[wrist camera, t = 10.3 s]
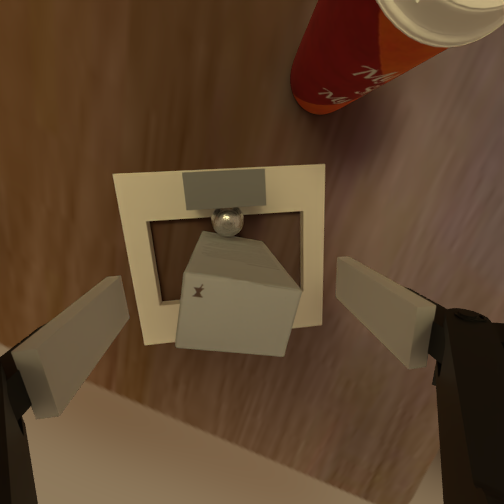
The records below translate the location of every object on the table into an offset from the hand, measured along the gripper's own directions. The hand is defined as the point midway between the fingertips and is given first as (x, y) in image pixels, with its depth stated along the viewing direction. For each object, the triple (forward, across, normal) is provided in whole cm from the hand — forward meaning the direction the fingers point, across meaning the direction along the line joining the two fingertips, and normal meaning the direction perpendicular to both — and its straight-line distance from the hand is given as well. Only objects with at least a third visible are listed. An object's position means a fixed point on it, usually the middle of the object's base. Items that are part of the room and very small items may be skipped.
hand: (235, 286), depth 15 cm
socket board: (+9, 0, -1) cm, 9 cm away
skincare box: (+9, 0, -1) cm, 9 cm away
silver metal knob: (+7, 0, +4) cm, 8 cm away
